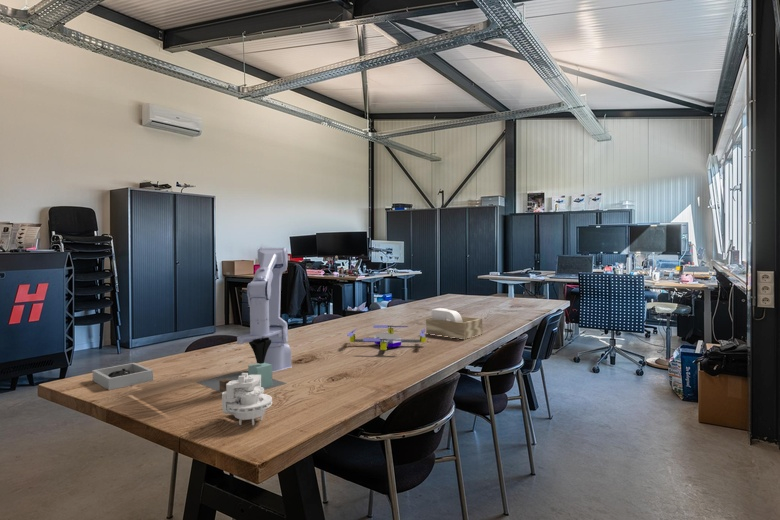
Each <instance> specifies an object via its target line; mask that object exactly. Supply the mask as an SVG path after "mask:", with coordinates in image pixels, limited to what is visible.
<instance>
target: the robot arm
mask: <svg viewBox="0 0 780 520" xmlns="http://www.w3.org/2000/svg"><path fill="white" fill-rule="evenodd" d="M288 257H289V256H288V249H287V248H286V246H284V247H259V248H258V250H257V261H258V265H259V267H258V268H257V269H256V271H255V273H254V275H253V276H254V277H253V278H252V281H250V282H249V283H248V284H247V287H246V295H247V300H248V301H247V302H248V306H249V326H250V327H249V328H250V329H249V331H250V333H247V334H244V335H239V336H237V337H236V342H237V344H239V345H241V344H244V343H245V344H246V343H248V345H250V347H251V350H252V351H253V355H254V356H255V360H256V364H257V363H259V364H262V363H268V364H271V365H272V373H274V372H278V371H279V372H280V371H282V370H283V371H284V370H286V369H290V368H293V366H292V350H291V346H290V344H289V343H287V342H288V340H289V329H288V322H287V321H286V320H284V319H283V318H282V317H281V294H282V293H281V291H282V278H283V277H282V276H283V273H285V272H286V271H288V269H287V268H288V261H289V260H288Z"/></svg>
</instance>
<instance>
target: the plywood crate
mask: <svg viewBox="0 0 780 520" xmlns="http://www.w3.org/2000/svg"><path fill="white" fill-rule="evenodd" d="M461 317H462V322H463V323H461V322H453V321H444V320H436V319H432V317H428V318H426V319H425V334H426V333H428V334H435V335H442V336H448V337H455V338H462V339H466V338H469V337H472V336H475V335H478V334H481V333H482V334H483V318H480V317H479V318H477V317H471V316H470V317H469V316H463V315H461Z"/></svg>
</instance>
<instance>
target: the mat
mask: <svg viewBox="0 0 780 520" xmlns="http://www.w3.org/2000/svg"><path fill="white" fill-rule="evenodd" d="M242 373H248V369H247V370H242V371H239V372H238V371H237V372H235V373H229V374H226V375H225V374H224V375H222V376H216V377H213V378H208V379H204V380H200V381H199V380H198V381H196V383H197V384H199V385H202V386H205V387H206V388H209V389H211V390H214V391H217V392H219V393H221V394H222V393H223V391H220V384H219V380H223V379H230V380H232V381H234V380H238V377H239V376H242ZM287 384H288V383H287V382H284V381H281V380H277V379H275V378H272V385H273V386H270V387H266V388H264V391H265V390H269V389H272V388H276V387H278V386H279V387H280V386H282V385H287Z"/></svg>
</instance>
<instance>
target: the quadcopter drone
mask: <svg viewBox="0 0 780 520" xmlns="http://www.w3.org/2000/svg"><path fill="white" fill-rule="evenodd" d="M372 328H376V329H379V328H380V329H386V328H387V332H381V333H376V334H374V335H373V338H372V337H370V338H368V337H367V338H366V337H365V338H356V334H355V333H354V332H356V331H357V330H358V328H355V329H353V330H352V331H349V332H348V333H347V337H349V342H350V343H374V344H377V345H376V346H378V345H380V346H379V347H380V350H381V351H387V349H392V347H393V348H398V347H401V346H402V343H413V344H414V343H415V344H416V343H418V344H419V343H427V336H426V328H423V329H421V331H420V333H419V334H420V335H419V339H415V338H414V339H413V338H412V339H411V338H410V339H407V338H404V339H402V337H401V336H400V335H398V334H396V333H395V334H394V328H409V326H408V325H388V324H380V325H379V324H378V325H377V324H376V325H374V324H373V327H372ZM397 346H398V347H397ZM387 347H388V348H387Z"/></svg>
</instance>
